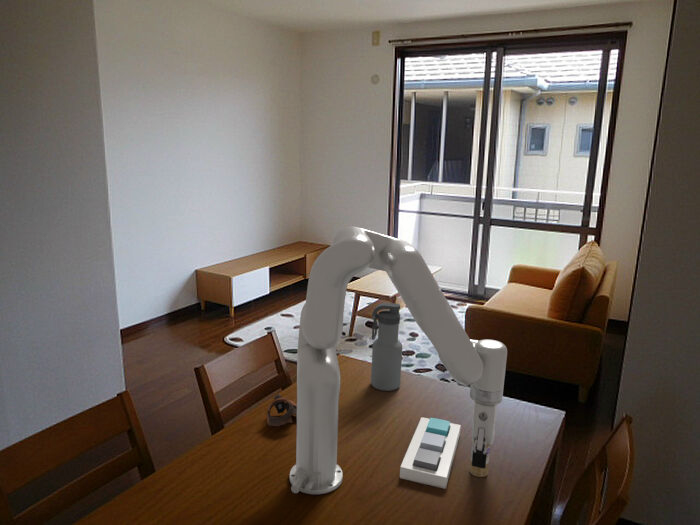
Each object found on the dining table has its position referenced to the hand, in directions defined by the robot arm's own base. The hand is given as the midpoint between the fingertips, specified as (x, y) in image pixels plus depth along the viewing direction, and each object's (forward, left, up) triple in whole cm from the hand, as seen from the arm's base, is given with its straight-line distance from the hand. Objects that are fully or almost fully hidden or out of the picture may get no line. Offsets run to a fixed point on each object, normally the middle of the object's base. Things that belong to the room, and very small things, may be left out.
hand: (479, 460), depth 126 cm
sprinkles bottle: (0, 0, -4) cm, 4 cm away
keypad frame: (+3, +12, -3) cm, 13 cm away
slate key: (+3, +12, -1) cm, 12 cm away
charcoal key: (-5, +12, -1) cm, 13 cm away
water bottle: (+37, +34, -4) cm, 50 cm away
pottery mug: (+4, +55, -4) cm, 55 cm away
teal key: (+11, +12, -1) cm, 16 cm away
